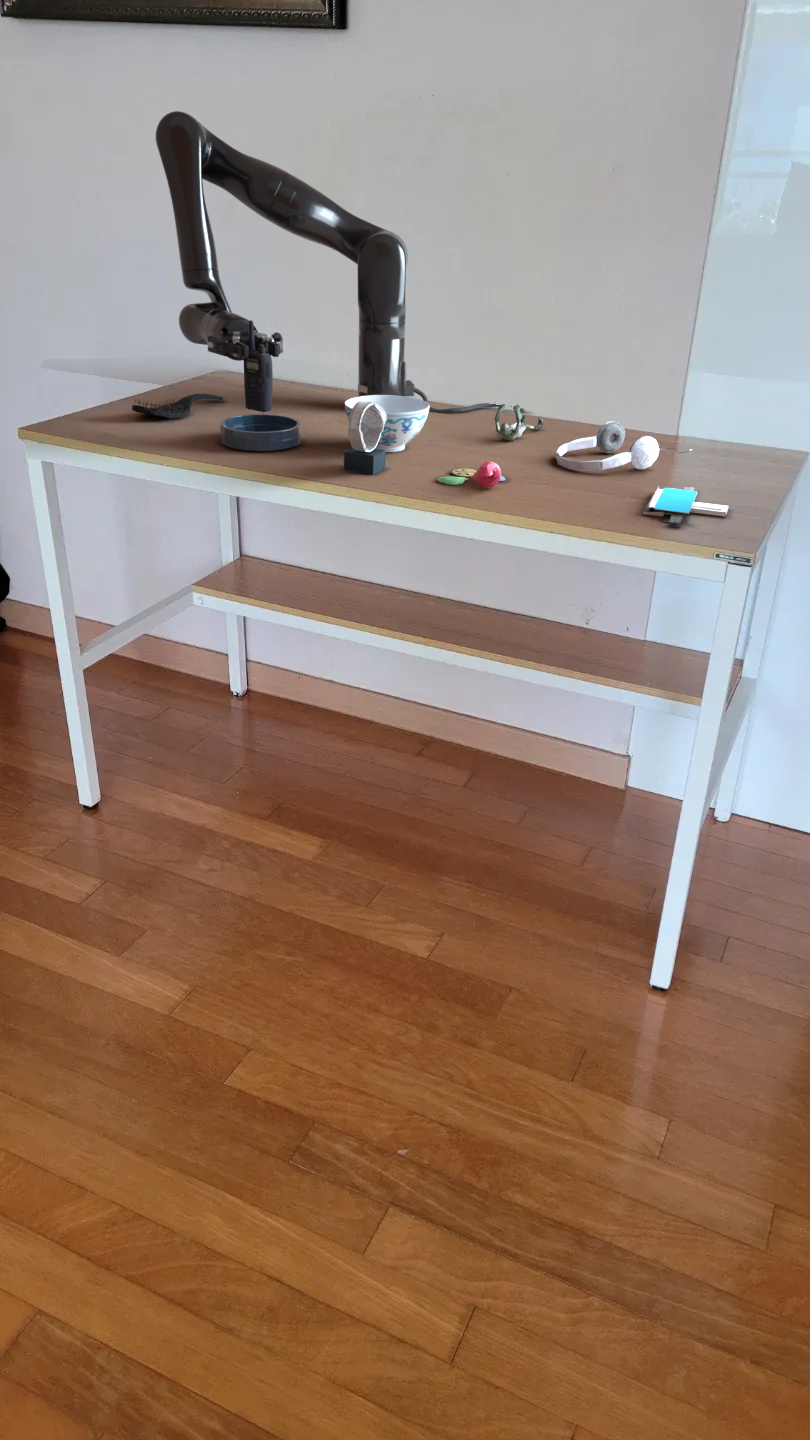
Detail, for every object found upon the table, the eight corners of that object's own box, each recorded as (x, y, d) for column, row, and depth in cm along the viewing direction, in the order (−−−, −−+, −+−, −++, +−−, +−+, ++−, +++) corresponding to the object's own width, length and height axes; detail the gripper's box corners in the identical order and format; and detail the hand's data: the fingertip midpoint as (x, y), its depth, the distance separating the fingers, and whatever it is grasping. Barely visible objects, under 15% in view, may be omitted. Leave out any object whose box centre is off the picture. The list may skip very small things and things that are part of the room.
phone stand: (720, 533, 155) (722, 521, 154) (637, 522, 158) (639, 511, 157) (731, 496, 171) (733, 486, 171) (656, 487, 175) (658, 477, 174)
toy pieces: (524, 482, 175) (526, 455, 173) (478, 495, 168) (480, 467, 166) (470, 467, 182) (472, 441, 180) (424, 478, 175) (425, 451, 173)
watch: (390, 466, 181) (391, 399, 176) (368, 477, 175) (369, 408, 170) (361, 461, 183) (361, 395, 178) (338, 472, 177) (338, 404, 172)
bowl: (296, 432, 200) (296, 413, 199) (304, 452, 188) (304, 432, 186) (220, 433, 198) (219, 414, 196) (222, 453, 185) (221, 433, 184)
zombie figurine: (546, 394, 204) (515, 410, 193) (543, 430, 208) (511, 447, 196) (521, 390, 206) (488, 405, 195) (517, 426, 210) (485, 442, 198)
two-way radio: (240, 409, 190) (238, 319, 183) (257, 405, 193) (255, 317, 186) (264, 414, 187) (263, 323, 180) (281, 410, 191) (279, 321, 183)
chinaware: (373, 433, 201) (373, 391, 198) (442, 445, 195) (444, 402, 191) (327, 449, 190) (327, 405, 186) (400, 463, 183) (401, 417, 180)
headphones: (639, 441, 197) (542, 466, 192) (639, 410, 194) (540, 435, 189) (694, 466, 182) (590, 493, 178) (694, 433, 179) (588, 460, 175)
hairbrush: (237, 388, 219) (154, 403, 200) (237, 407, 221) (155, 423, 201) (205, 384, 223) (120, 398, 203) (205, 402, 225) (122, 417, 205)
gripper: (192, 315, 193) (220, 330, 179) (268, 312, 198) (300, 326, 185) (195, 358, 196) (222, 376, 183) (269, 354, 202) (301, 371, 188)
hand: (261, 351), depth 184 cm, fingers closed on two-way radio, 5 cm apart
